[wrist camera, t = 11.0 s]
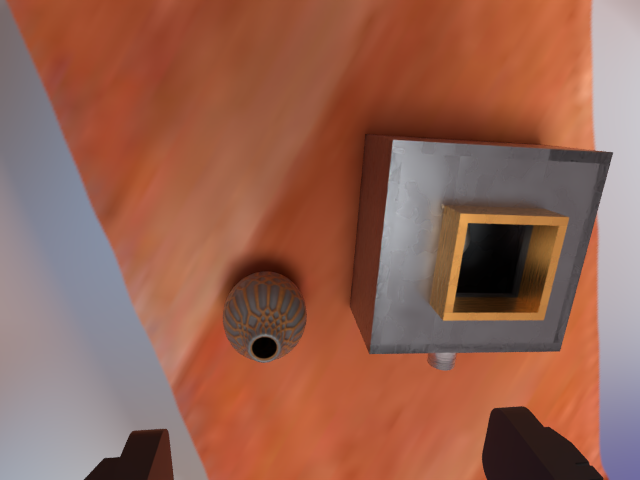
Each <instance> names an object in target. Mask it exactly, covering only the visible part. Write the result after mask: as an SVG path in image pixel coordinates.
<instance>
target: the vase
mask: <svg viewBox="0 0 640 480" xmlns="http://www.w3.org/2000/svg"><path fill="white" fill-rule="evenodd" d="M306 318H307V313H306V306H305V302H304V299H303V296H302V294H301V292H300V290H299V289H298V288H297V286H296V285H295V284H294V283H293V282H292V281H291V280H289V279H288V278H287V277H285V276H283V275H281V274H278V273H275V272H267V271H265V272H257V273H253V274H251V275H248V276H247V277H245V278H243V279H242V280H240V281H239V282H238V283H237V284H236V285H235V286H234V287H233V289H232V290H231V292H230V293H229V295H228V297H227V300H226V302H225V306H224V311H223V325H224V330H225V333H226V336H227V338H228V340H229V342H230V343H231V345H232V346H233V347H234V348H235V350H236V351H238V352H239V353H240V354H241V355H243V356H245V357H247V358H249V359H252V360H255V361H258V362H262V363H265V362H270V361H272V360H275V359H278V358H281V357H283V356H284V355H286V354H288V353H289V352H290V351H291V350H292V349H293V348H294V347H295V346H296V345H297V343H298V342H299V340H300V339H301V337H302V334H303V332H304V329H305V325H306Z"/></svg>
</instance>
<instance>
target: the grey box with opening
mask: <svg viewBox="0 0 640 480" xmlns="http://www.w3.org/2000/svg"><path fill="white" fill-rule="evenodd" d="M612 155H613V153H612V152H603V151H594V150H585V149H576V148H567V147H558V146H548V145H538V144H521V143H504V142H488V141H471V140H454V139H437V138H420V137H403V136H386V135H369V134H366V135H365V146H364V157H363V168H362V179H361V190H360V201H359V212H358V223H357V234H356V245H355V256H354V267H353V278H352V289H351V300H350V308H351V311H352V313H353V315H354V318H355V320H356V323H357V325H358V327H359V330H360V332H361V335H362V337H363V340H364V342H365V344H366V347H367V349H368V352H369V354H399V353H428V358H427V361H428V363H429V364H430V365H431V366H432V367H434V368H436V369H440V370H451V369H453V368H454V365H455V360H456V354H457V353H473V352H547V351H560V349H561V345H562V341H563V338H564V334H565V330H566V326H567V323H568V319H569V315H570V311H571V308H572V304H573V300H574V297H575V293H576V289H577V285H578V282H579V278H580V274H581V270H582V267H583V263H584V259H585V255H586V252H587V248H588V244H589V240H590V237H591V233H592V229H593V226H594V222H595V218H596V214H597V211H598V207H599V203H600V199H601V196H602V192H603V188H604V184H605V181H606V177H607V173H608V169H609V166H610V162H611V158H612ZM467 226H468V227H469V230H470V243H469V246H468V248H467V249H466V251H465V252H464V253H463V249H464V243H465V238H466V232H467Z"/></svg>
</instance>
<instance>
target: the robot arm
mask: <svg viewBox="0 0 640 480" xmlns="http://www.w3.org/2000/svg"><path fill="white" fill-rule="evenodd" d="M482 463H483V468H484V472H485V475H486V478H487V480H603V477H602V476H601V475H600V474H599V473H598V472H597V470H596V469H595V468H594V467H593V466H590V465H589V462H588V460H587V459H586V458H585V457H584V456H583V455H582V454H581V453H580V452H579V450H578V449H577V448H576V447H575V446H574V445H573V444H572V443H571V442H570V441H568V440H567V439H566V438H564V437H563V436H561V435H560V434H559V433H557V432H556V431H554V430H553V429H551V428H550V427H543V425H542V424H541V423H540V422H539V421H538V420H537V418H536V417H535V416H534V415H533V414H532V413H531V412H530V410H529V409H527V408H526V407H522V406H521V407H506V408H494V409H493V410H492V411H491V414H490V418H489V423H488V428H487V433H486V438H485V443H484V448H483V453H482ZM84 480H174V478H173V469H172V459H171V451H170V440H169V433H168V430H167V429H154V430H140V431H132V433H131V434H130V435H129V438H128V440H127V442H126V445H125V447H124V449H123V452H122V454H121V456H120V457H116V458H104V459H103V460H102V461H101V462H100V463H99V464H98V465H97V466H96V467H95V468H94V470H93V471H92V472H91V473H90V474H89V475H88V476H87V477H86V478H85V479H84Z"/></svg>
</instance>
